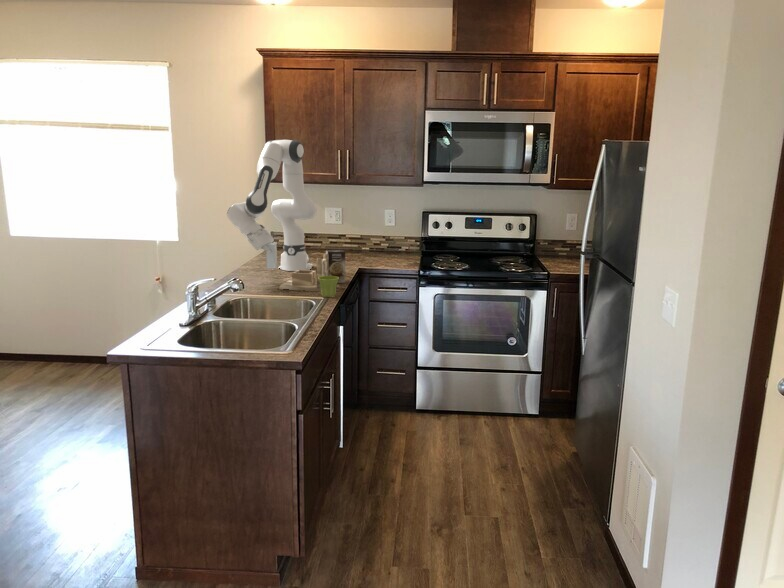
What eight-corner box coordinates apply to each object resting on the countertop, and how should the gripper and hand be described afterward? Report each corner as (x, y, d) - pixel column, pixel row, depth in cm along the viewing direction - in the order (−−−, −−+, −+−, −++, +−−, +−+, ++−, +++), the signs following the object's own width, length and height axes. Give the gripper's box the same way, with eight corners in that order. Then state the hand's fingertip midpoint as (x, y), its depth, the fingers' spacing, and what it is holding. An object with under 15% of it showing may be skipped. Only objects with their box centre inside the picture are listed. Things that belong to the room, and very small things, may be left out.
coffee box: (327, 283, 310) (327, 251, 306) (325, 281, 316) (325, 249, 312) (345, 282, 312) (345, 251, 309) (342, 280, 318) (343, 249, 315)
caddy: (289, 282, 310) (288, 252, 306) (328, 284, 307) (328, 253, 304) (279, 289, 294) (278, 257, 291) (321, 291, 292) (321, 259, 288)
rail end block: (269, 266, 308) (268, 243, 306) (277, 267, 308) (276, 243, 305) (266, 268, 305) (266, 244, 302) (274, 268, 304) (274, 244, 301)
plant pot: (325, 299, 276) (325, 280, 274) (314, 295, 283) (314, 277, 281) (342, 296, 282) (342, 278, 280) (331, 293, 289) (331, 274, 287)
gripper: (249, 230, 292) (270, 251, 294) (264, 224, 312) (283, 244, 313) (241, 239, 294) (261, 260, 295) (255, 233, 314) (275, 253, 315)
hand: (272, 252), depth 304 cm, fingers closed on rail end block, 4 cm apart
